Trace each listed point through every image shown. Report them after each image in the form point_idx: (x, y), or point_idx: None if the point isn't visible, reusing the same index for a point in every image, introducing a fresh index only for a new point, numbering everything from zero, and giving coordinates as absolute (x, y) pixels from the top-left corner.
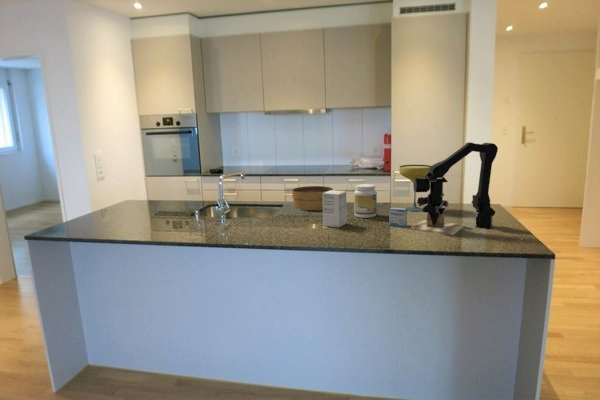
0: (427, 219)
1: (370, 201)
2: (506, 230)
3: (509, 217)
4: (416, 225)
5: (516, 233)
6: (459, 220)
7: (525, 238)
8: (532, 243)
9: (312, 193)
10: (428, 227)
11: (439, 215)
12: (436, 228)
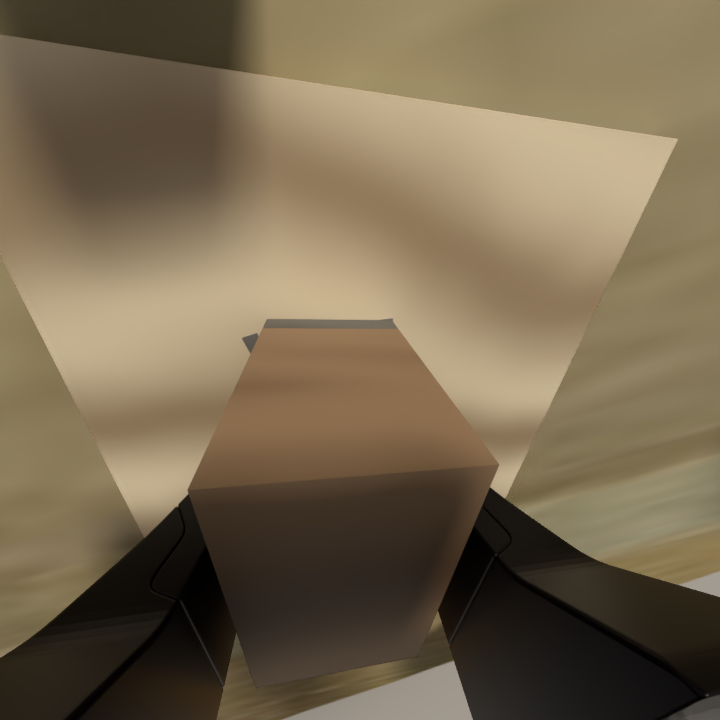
0: (243, 386)
1: None
2: (446, 638)
3: (698, 577)
4: (212, 117)
5: (407, 662)
6: (663, 454)
7: (341, 690)
8: (281, 713)
9: None
10: (217, 361)
11: (250, 669)
12: None
